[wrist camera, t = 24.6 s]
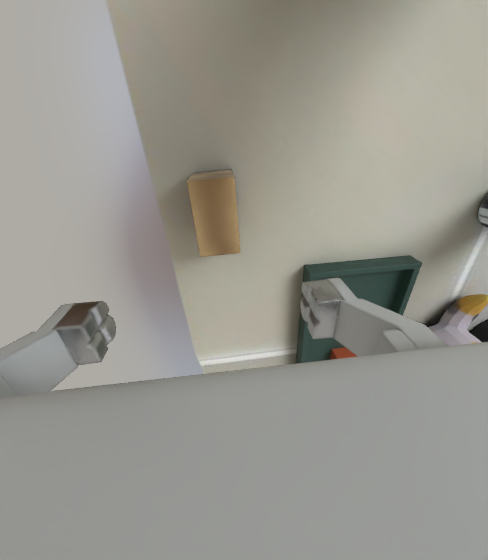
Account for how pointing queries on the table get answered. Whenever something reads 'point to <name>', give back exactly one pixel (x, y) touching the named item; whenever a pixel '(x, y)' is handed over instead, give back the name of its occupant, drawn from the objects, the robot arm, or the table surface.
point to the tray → (359, 293)
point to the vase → (481, 332)
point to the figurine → (460, 320)
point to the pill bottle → (484, 212)
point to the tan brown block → (214, 212)
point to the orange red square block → (341, 353)
